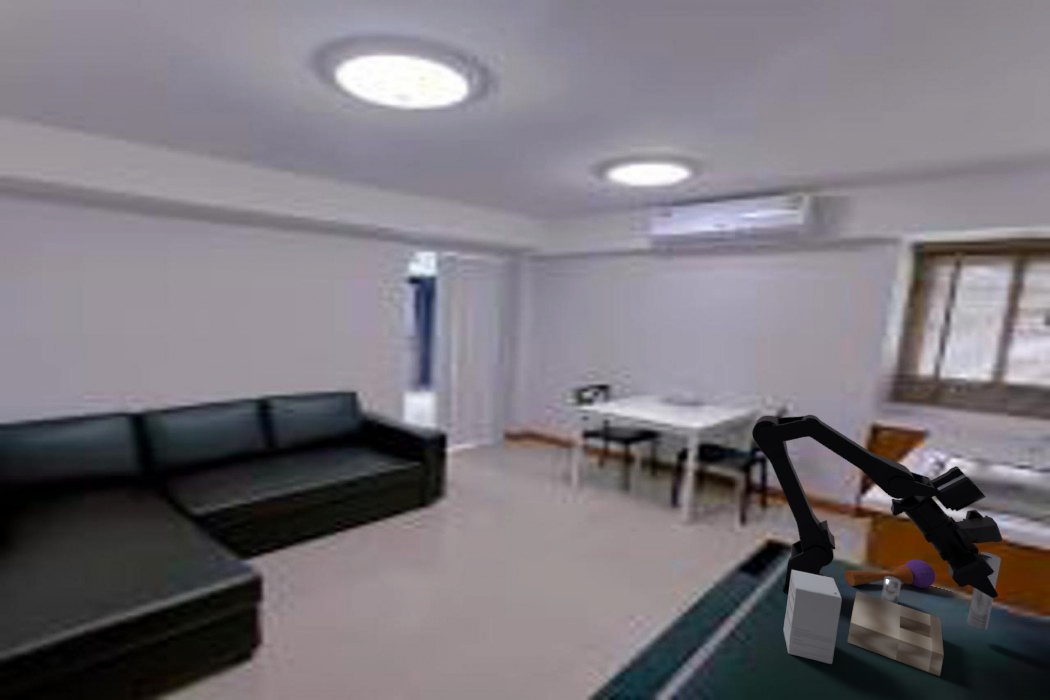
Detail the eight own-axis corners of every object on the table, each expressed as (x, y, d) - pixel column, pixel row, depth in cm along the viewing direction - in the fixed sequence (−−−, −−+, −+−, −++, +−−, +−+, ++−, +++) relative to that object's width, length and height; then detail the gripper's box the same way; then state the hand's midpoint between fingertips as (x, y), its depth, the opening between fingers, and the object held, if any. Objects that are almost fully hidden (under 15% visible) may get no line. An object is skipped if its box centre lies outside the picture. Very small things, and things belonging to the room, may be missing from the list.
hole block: (847, 642, 105) (850, 622, 104) (853, 609, 116) (856, 591, 116) (939, 676, 97) (943, 655, 97) (936, 637, 109) (940, 618, 108)
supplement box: (825, 641, 105) (835, 577, 103) (832, 666, 98) (843, 598, 96) (782, 630, 107) (791, 568, 105) (786, 653, 100) (796, 587, 99)
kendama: (840, 560, 130) (919, 555, 132) (841, 586, 129) (921, 581, 131) (858, 569, 124) (941, 563, 126) (859, 596, 123) (942, 591, 126)
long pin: (968, 624, 108) (981, 556, 106) (966, 617, 110) (979, 550, 108) (988, 631, 106) (1002, 561, 104) (986, 624, 109) (999, 555, 107)
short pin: (880, 601, 120) (884, 579, 119) (881, 596, 123) (884, 574, 122) (897, 607, 118) (901, 585, 118) (897, 601, 121) (901, 579, 120)
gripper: (988, 518, 99) (1058, 597, 95) (961, 487, 115) (1020, 553, 112) (926, 548, 103) (991, 624, 100) (909, 513, 120) (964, 578, 116)
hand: (993, 592), depth 107 cm, fingers closed on long pin, 3 cm apart
